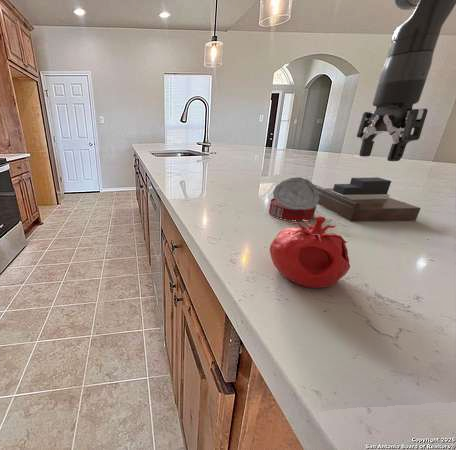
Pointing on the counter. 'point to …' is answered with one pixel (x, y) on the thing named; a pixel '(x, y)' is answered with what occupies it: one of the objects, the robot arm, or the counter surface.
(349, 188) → the stepped dark block
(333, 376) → the counter surface
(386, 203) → the brown flat slab
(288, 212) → the canned food
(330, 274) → the pomegranate
